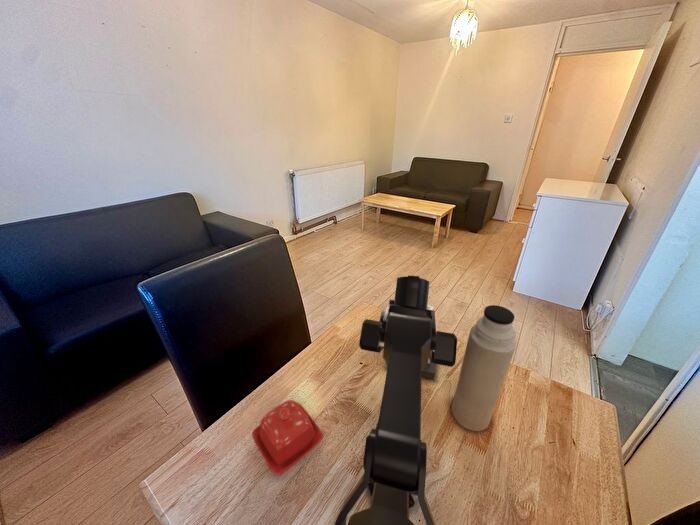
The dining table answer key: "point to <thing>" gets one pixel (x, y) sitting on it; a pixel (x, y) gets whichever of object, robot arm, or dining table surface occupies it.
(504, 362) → the thermos bottle
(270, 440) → the butter dish
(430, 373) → the scale
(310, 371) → the dining table surface
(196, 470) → the dining table surface
